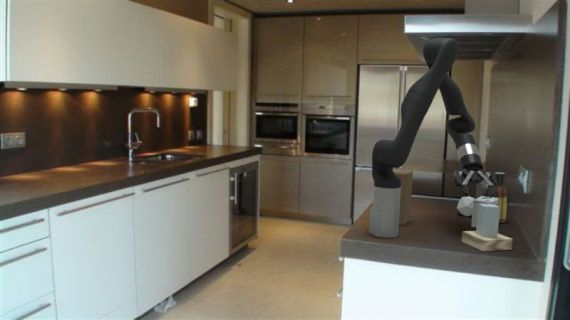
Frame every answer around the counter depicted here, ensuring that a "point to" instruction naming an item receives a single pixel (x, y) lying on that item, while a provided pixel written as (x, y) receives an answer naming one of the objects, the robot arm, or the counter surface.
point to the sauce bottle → (501, 195)
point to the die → (466, 206)
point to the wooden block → (405, 195)
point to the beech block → (487, 241)
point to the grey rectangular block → (487, 220)
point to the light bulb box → (481, 201)
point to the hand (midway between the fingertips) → (479, 196)
